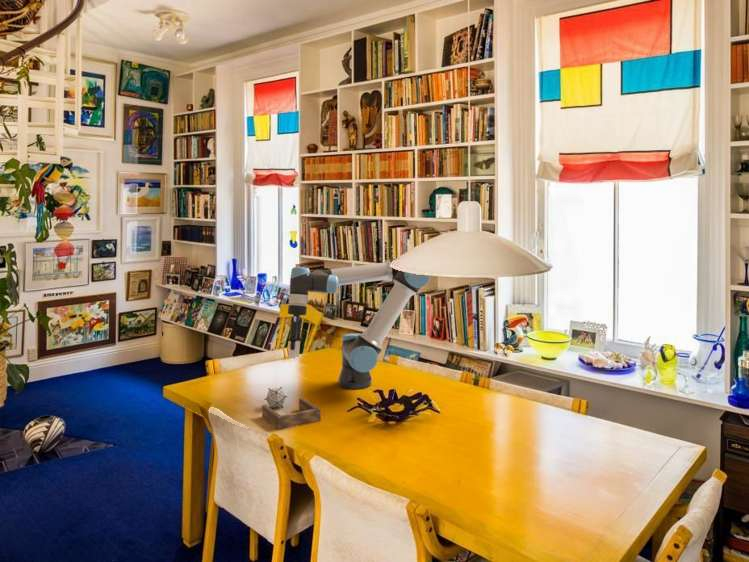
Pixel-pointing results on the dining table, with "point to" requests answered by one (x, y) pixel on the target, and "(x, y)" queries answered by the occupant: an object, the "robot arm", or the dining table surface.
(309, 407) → the shallow brown tray
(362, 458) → the dining table surface
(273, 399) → the grey spiked ball
